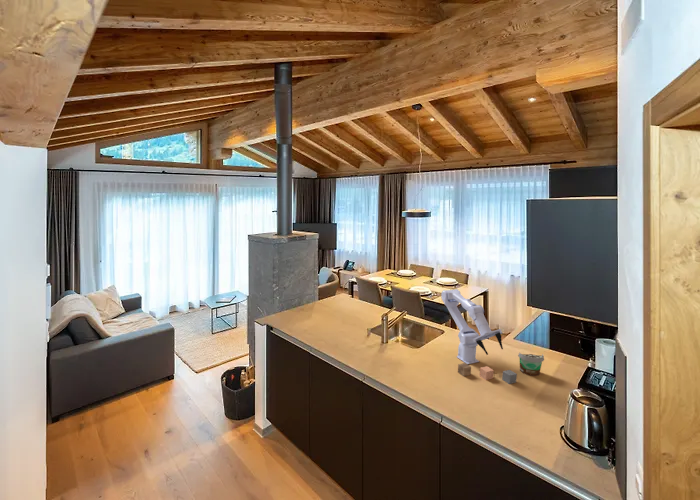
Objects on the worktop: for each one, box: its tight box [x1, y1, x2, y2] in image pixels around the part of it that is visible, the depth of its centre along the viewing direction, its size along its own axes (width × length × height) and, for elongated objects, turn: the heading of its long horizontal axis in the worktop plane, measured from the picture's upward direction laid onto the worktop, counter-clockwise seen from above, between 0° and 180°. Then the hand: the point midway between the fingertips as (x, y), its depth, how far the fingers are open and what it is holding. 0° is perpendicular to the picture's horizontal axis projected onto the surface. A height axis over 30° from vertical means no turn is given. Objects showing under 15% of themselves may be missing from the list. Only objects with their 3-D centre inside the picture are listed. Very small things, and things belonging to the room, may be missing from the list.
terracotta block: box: [479, 366, 495, 381], centre depth 178 cm, size 4×4×4 cm
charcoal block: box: [501, 369, 518, 385], centre depth 174 cm, size 4×4×4 cm
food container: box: [517, 352, 545, 377], centre depth 180 cm, size 12×6×10 cm, turn 81°
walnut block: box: [457, 362, 472, 377], centre depth 181 cm, size 4×4×4 cm
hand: (494, 351), depth 174 cm, fingers open, 7 cm apart
